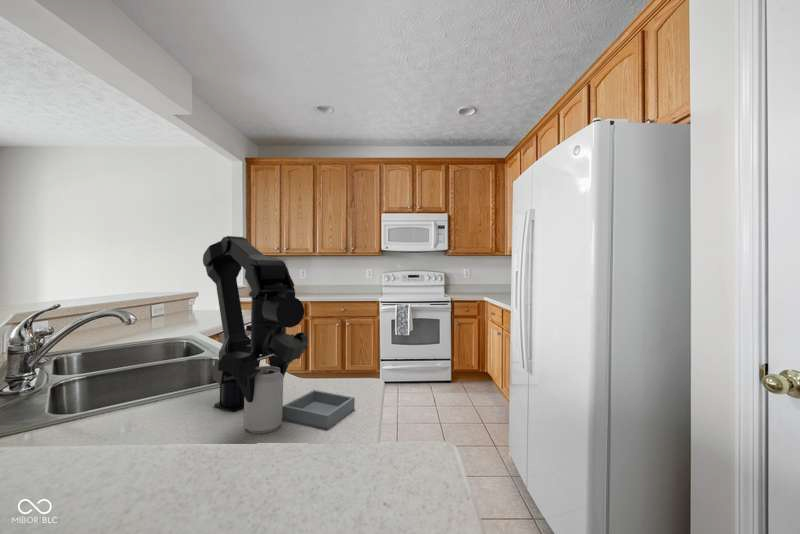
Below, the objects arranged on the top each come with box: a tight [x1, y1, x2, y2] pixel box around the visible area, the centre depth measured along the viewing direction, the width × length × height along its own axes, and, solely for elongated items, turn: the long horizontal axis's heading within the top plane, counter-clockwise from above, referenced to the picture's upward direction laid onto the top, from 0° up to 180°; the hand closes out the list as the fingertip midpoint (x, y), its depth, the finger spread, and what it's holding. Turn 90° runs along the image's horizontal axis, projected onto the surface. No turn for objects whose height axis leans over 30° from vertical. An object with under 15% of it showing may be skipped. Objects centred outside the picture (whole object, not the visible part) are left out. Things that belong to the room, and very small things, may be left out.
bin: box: [282, 389, 356, 431], centre depth 83 cm, size 11×11×3 cm
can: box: [243, 365, 284, 435], centre depth 76 cm, size 8×8×12 cm
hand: (264, 395), depth 76 cm, fingers closed on can, 7 cm apart
